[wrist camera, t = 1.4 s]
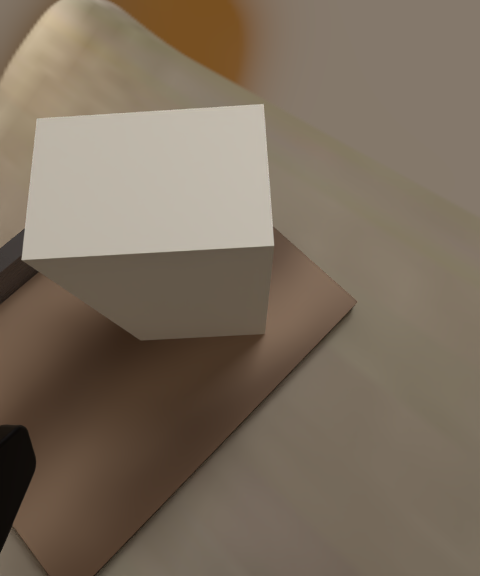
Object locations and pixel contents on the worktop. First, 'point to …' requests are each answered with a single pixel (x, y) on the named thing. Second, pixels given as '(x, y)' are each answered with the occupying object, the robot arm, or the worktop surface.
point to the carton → (156, 218)
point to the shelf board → (136, 404)
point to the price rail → (13, 267)
